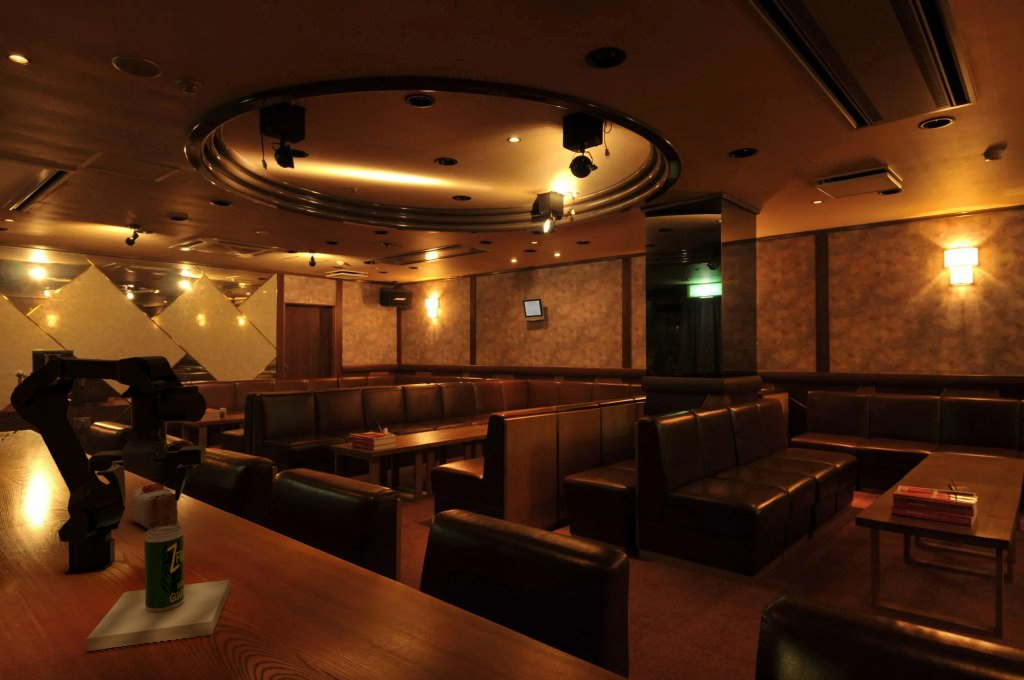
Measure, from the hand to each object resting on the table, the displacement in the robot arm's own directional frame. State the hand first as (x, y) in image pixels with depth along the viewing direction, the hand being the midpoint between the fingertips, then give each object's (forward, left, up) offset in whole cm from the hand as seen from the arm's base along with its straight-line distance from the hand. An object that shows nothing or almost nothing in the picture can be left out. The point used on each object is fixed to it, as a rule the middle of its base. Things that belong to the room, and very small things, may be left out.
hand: (150, 502), depth 113 cm
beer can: (+8, -23, -11) cm, 27 cm away
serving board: (+8, -23, -13) cm, 28 cm away
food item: (-8, +33, -13) cm, 36 cm away
